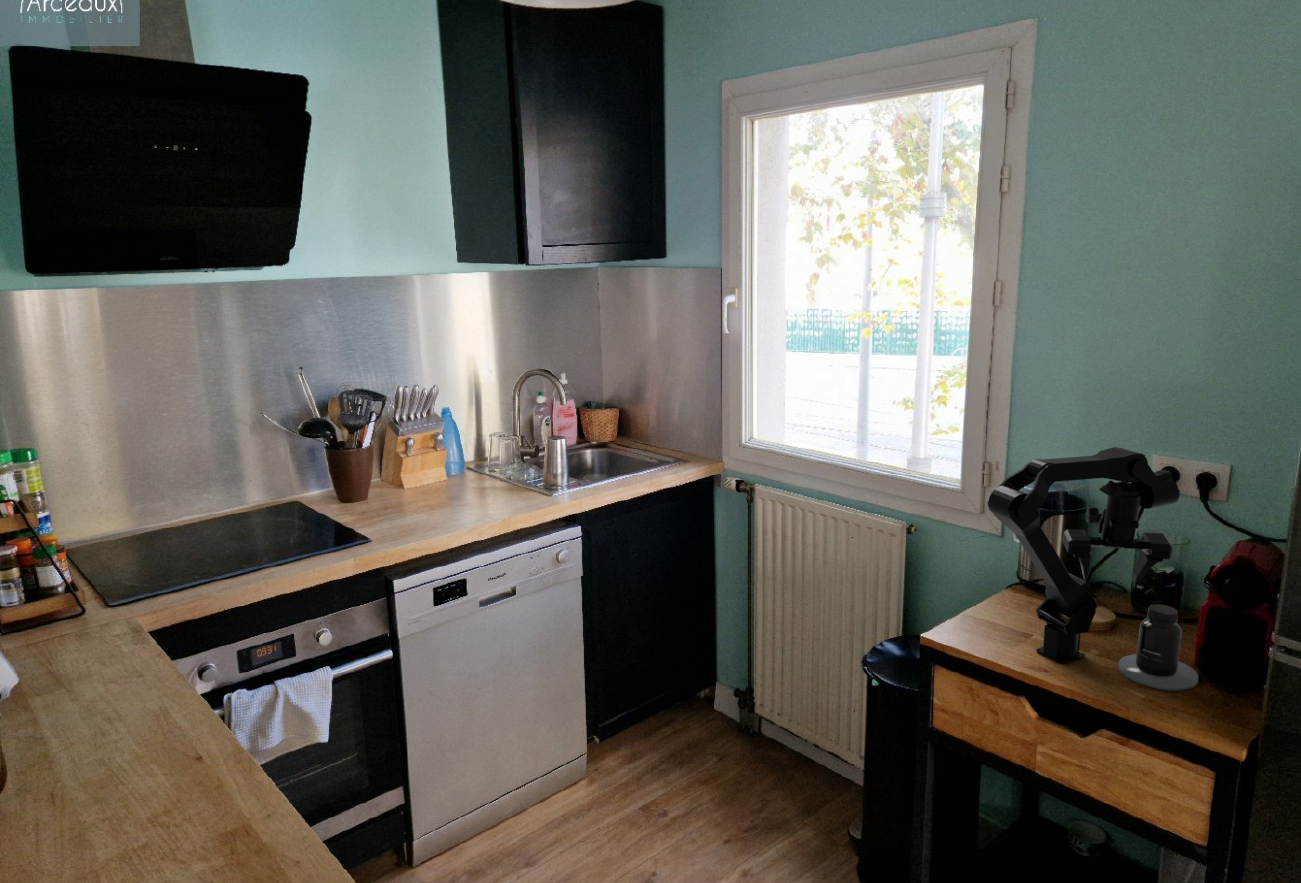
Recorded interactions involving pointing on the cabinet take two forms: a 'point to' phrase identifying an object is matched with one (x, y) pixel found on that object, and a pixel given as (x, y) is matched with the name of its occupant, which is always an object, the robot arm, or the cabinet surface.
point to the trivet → (1176, 682)
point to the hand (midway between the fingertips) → (1109, 580)
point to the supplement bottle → (1159, 641)
